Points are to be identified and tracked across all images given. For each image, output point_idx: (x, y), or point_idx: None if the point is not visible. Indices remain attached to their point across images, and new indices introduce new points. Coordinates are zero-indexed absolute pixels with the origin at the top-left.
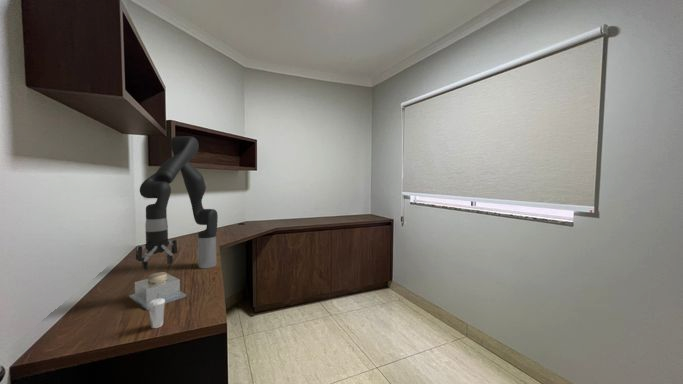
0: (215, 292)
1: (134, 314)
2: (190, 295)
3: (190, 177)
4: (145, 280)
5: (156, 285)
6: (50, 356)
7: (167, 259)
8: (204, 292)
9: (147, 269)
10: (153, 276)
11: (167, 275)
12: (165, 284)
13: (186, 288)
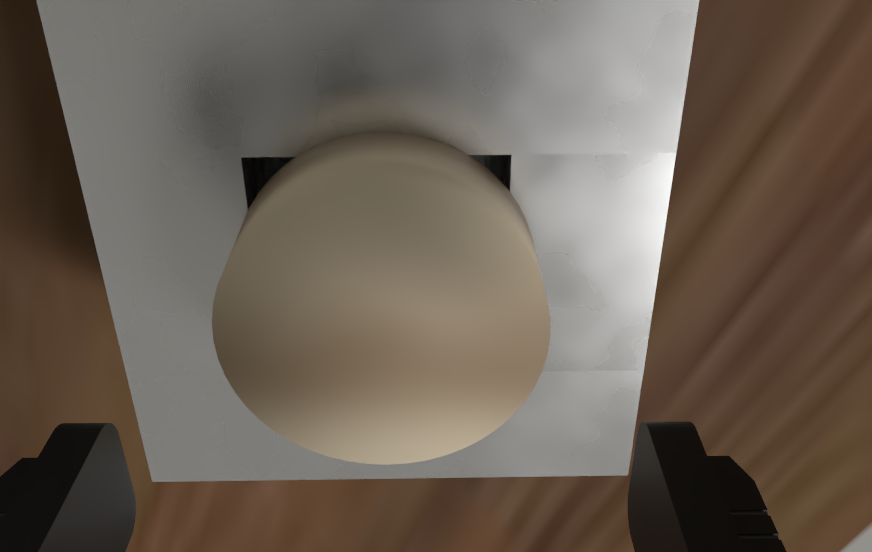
0: (834, 519)
1: (85, 402)
2: (650, 402)
3: None
4: (224, 67)
5: (297, 451)
6: None
7: (669, 530)
8: (783, 442)
9: (120, 534)
10: (290, 364)
11: (633, 119)
12: (414, 467)
13: (773, 162)
